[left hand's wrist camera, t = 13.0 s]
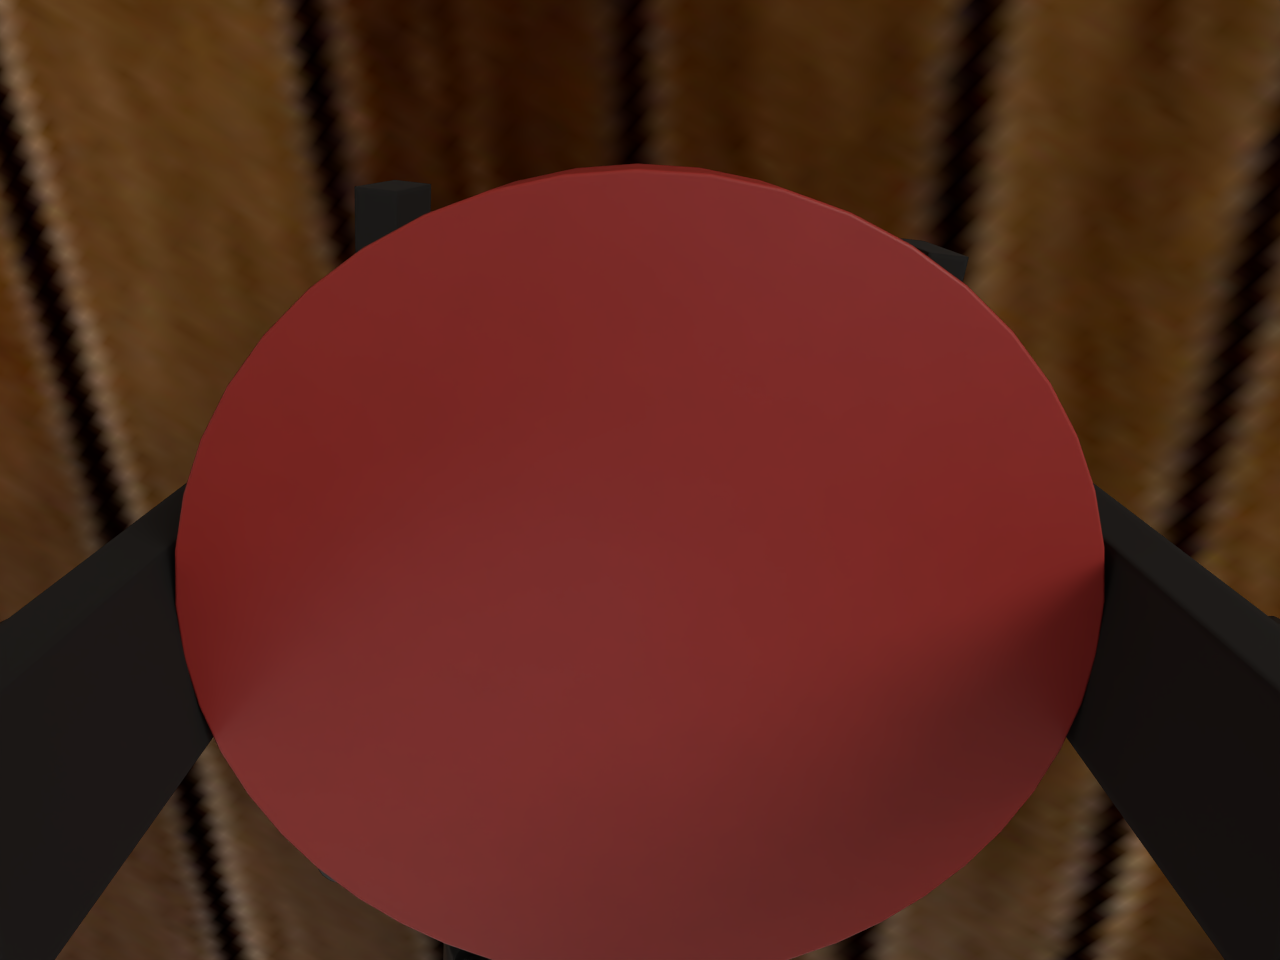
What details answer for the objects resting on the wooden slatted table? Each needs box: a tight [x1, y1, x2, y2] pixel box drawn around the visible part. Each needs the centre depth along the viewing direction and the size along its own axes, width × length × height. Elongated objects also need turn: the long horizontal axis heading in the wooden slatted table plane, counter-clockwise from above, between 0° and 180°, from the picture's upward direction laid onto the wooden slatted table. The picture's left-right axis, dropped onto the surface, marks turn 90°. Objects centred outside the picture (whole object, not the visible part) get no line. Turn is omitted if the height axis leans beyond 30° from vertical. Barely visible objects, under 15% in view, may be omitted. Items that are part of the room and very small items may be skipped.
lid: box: [175, 164, 1104, 960], centre depth 11 cm, size 11×11×2 cm
